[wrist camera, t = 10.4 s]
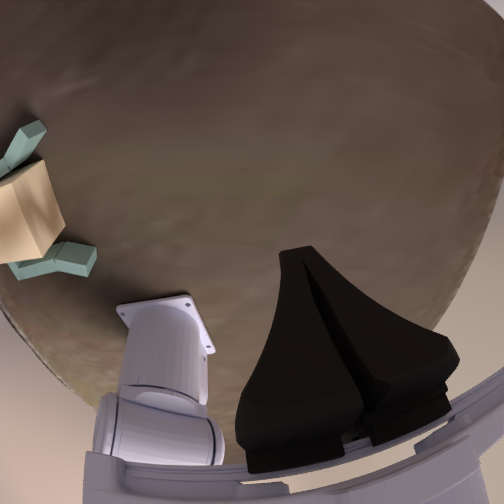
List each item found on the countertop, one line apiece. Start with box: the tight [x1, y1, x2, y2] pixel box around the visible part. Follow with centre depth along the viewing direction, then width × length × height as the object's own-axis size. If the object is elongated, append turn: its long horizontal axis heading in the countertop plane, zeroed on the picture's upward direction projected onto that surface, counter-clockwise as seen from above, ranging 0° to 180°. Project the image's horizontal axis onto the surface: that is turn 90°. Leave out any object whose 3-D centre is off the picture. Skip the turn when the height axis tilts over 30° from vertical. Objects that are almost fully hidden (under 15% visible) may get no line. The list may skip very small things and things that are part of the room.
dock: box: [0, 120, 97, 281], centre depth 16 cm, size 13×9×2 cm
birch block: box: [0, 159, 66, 264], centre depth 15 cm, size 6×6×4 cm
